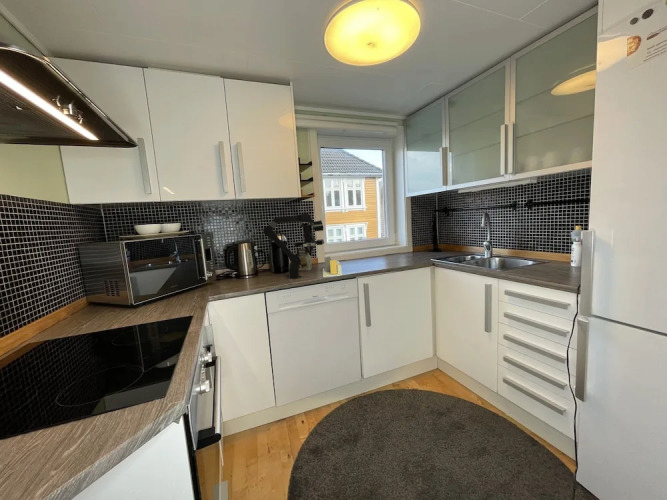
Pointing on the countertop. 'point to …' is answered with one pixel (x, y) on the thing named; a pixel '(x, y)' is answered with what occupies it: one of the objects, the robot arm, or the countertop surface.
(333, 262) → the ochre key
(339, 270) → the key console
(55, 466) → the countertop surface
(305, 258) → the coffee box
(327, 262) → the charcoal key middle
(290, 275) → the robot arm
